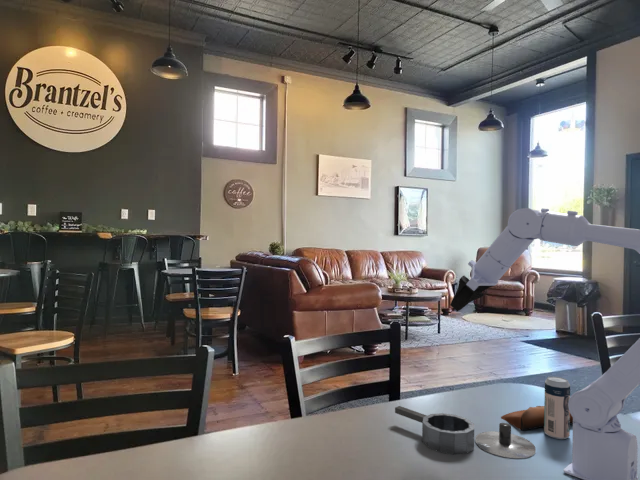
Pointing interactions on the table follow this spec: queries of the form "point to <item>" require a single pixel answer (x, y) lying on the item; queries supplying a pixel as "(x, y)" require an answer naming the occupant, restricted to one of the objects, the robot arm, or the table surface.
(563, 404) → the white labeled canister
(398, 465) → the table surface
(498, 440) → the lid
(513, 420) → the sunglasses case
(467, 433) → the saucepan
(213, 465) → the table surface
